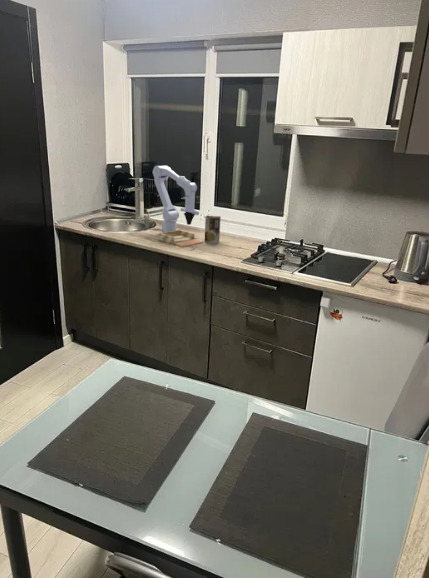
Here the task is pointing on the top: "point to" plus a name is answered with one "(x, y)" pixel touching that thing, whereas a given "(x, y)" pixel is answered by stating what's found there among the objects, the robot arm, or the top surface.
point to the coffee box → (212, 229)
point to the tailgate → (188, 243)
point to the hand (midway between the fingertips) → (189, 224)
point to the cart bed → (176, 236)
